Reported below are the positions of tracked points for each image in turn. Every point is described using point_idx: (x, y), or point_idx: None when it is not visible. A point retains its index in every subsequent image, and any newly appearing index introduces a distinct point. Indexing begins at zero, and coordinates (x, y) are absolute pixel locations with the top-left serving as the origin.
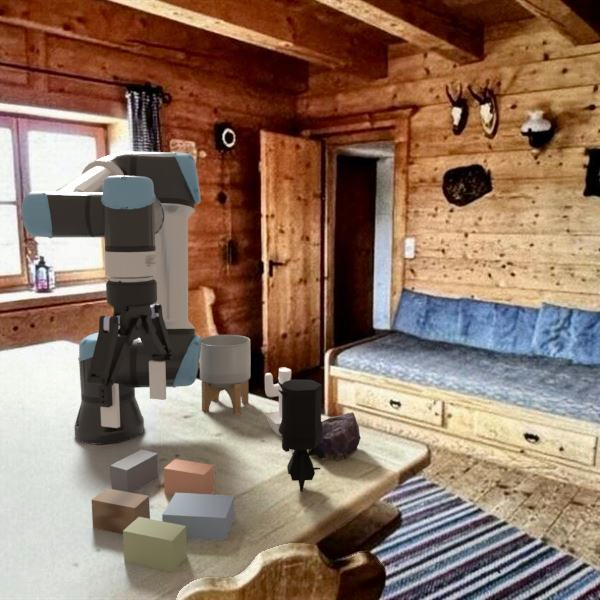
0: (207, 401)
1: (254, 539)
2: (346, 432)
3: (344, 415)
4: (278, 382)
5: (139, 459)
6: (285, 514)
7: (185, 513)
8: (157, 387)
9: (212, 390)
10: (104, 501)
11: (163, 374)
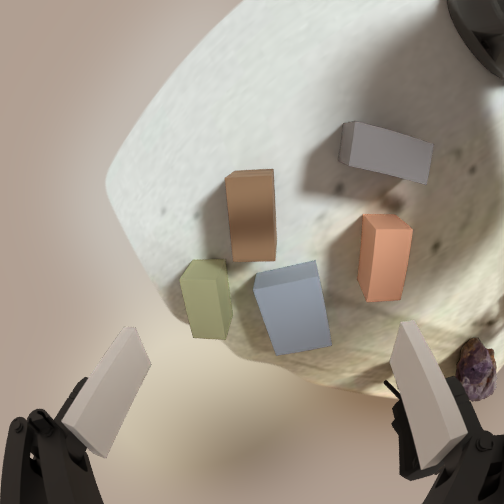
0: None
1: (288, 357)
2: None
3: (489, 390)
4: None
5: (396, 163)
6: (344, 365)
7: (267, 315)
8: (406, 375)
9: None
10: (229, 203)
11: (412, 430)
